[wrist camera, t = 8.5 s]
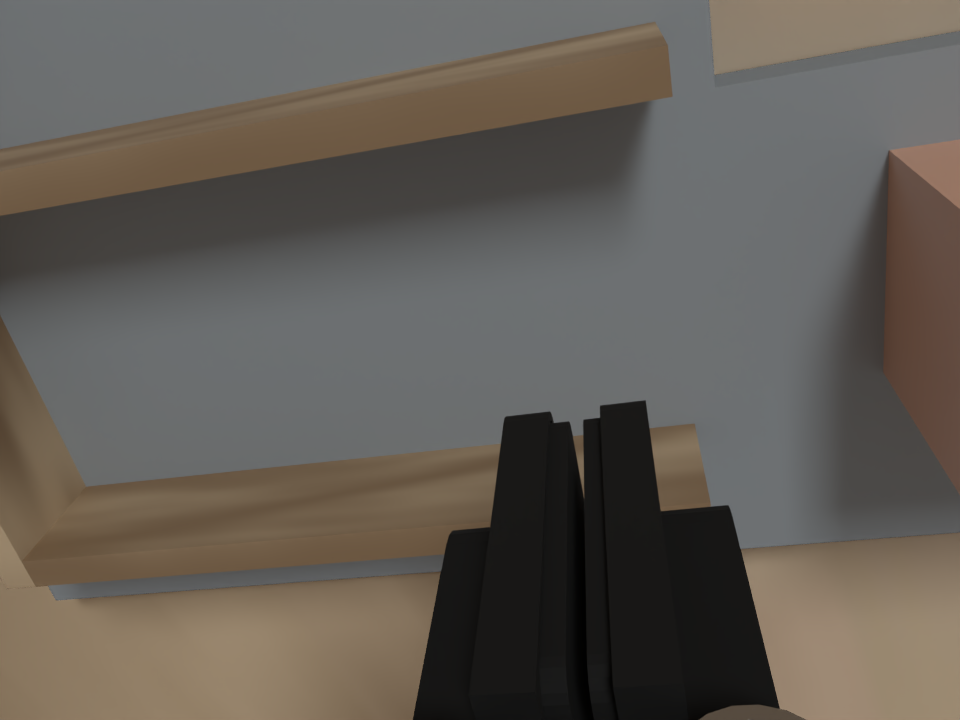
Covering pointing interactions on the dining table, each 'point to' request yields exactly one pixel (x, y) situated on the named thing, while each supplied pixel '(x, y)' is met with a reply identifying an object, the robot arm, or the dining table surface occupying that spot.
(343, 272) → the deck
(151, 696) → the dining table surface
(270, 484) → the frame
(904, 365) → the cube
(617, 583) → the robot arm
